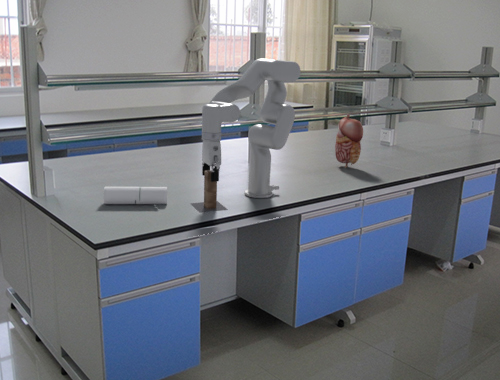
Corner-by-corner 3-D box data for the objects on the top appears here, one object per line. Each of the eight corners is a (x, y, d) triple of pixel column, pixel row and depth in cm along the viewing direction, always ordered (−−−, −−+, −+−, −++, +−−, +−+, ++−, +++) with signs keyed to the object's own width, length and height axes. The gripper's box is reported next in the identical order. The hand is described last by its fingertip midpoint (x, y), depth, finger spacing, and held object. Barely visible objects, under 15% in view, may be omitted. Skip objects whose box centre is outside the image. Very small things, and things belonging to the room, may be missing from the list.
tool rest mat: (217, 202, 222) (217, 200, 222) (227, 211, 212) (227, 209, 211) (190, 204, 217) (190, 203, 217) (199, 213, 207) (199, 212, 206)
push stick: (213, 205, 216) (213, 170, 212) (216, 208, 212) (217, 172, 208) (203, 206, 214) (204, 170, 210) (207, 209, 211) (207, 173, 206)
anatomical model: (345, 163, 302) (350, 111, 293) (364, 170, 289) (370, 116, 280) (328, 165, 296) (333, 112, 287) (347, 172, 283) (352, 116, 274)
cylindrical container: (167, 195, 221) (106, 195, 217) (167, 183, 216) (105, 182, 212) (167, 207, 216) (104, 207, 213) (166, 195, 211) (103, 195, 207)
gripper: (228, 140, 199) (227, 183, 204) (212, 131, 214) (211, 172, 219) (210, 140, 196) (209, 184, 201) (195, 132, 211) (194, 173, 216)
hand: (210, 178), depth 210 cm, fingers open, 9 cm apart
